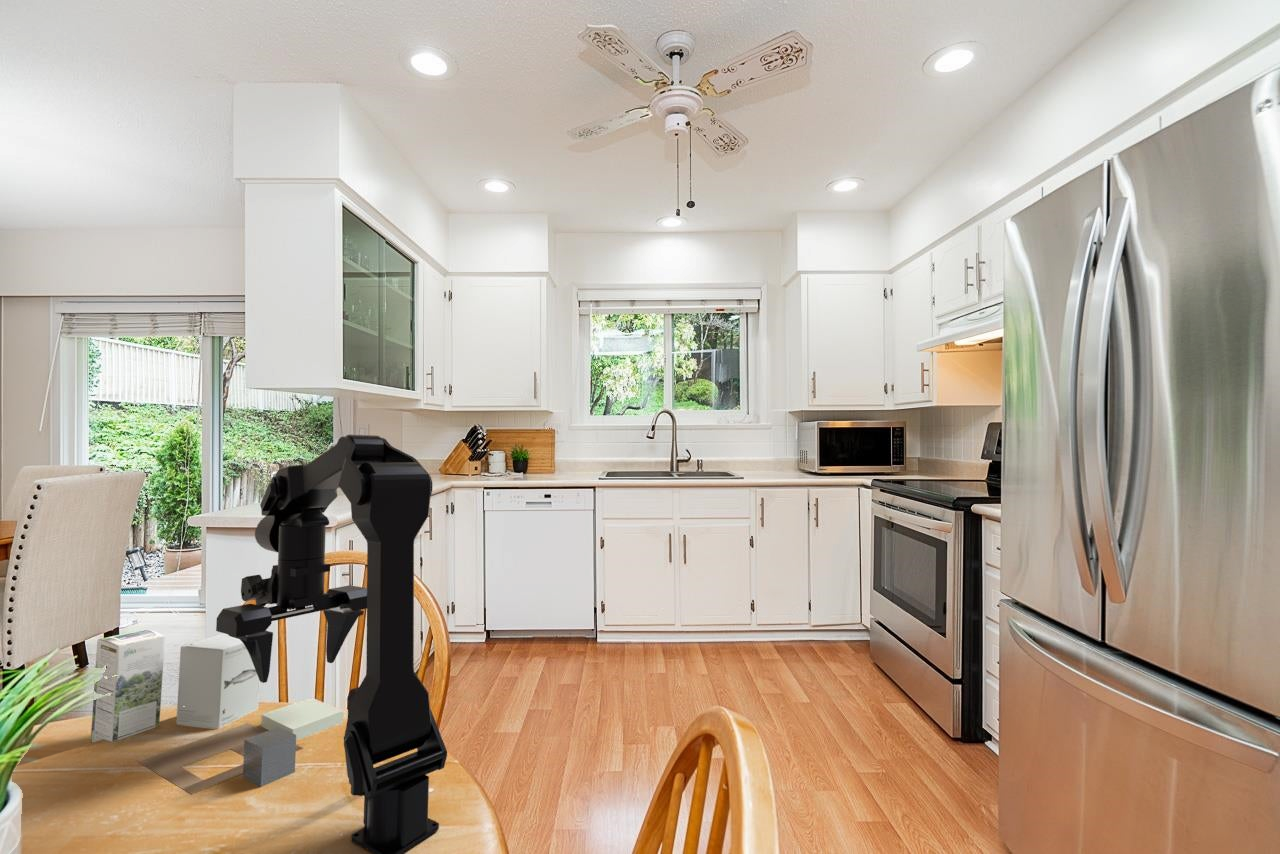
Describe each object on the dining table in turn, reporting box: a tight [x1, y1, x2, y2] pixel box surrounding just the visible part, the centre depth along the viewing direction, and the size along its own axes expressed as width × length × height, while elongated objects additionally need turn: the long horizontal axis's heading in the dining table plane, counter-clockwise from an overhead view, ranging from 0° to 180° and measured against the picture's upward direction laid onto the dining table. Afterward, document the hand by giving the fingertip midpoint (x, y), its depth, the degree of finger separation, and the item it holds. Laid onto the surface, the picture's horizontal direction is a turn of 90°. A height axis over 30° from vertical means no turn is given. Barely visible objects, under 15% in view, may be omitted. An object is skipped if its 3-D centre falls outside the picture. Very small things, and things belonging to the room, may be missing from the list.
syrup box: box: [90, 629, 166, 744], centre depth 86 cm, size 6×6×14 cm
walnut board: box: [137, 722, 304, 795], centre depth 79 cm, size 14×13×2 cm
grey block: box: [242, 727, 297, 788], centre depth 74 cm, size 4×4×6 cm
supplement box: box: [175, 632, 260, 730], centre depth 90 cm, size 7×7×13 cm
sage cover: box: [260, 697, 344, 742], centre depth 88 cm, size 8×7×4 cm
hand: (298, 671), depth 84 cm, fingers open, 9 cm apart
